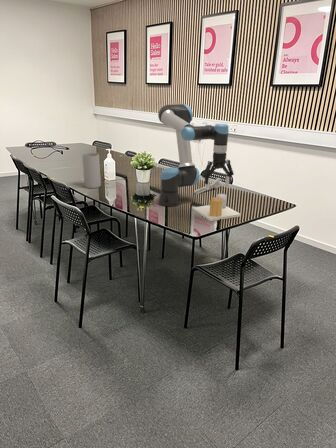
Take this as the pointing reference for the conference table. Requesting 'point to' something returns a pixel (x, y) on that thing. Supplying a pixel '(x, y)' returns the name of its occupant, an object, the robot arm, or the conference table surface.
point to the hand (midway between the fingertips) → (217, 188)
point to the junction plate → (226, 210)
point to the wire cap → (216, 207)
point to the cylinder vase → (91, 170)
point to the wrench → (214, 184)
